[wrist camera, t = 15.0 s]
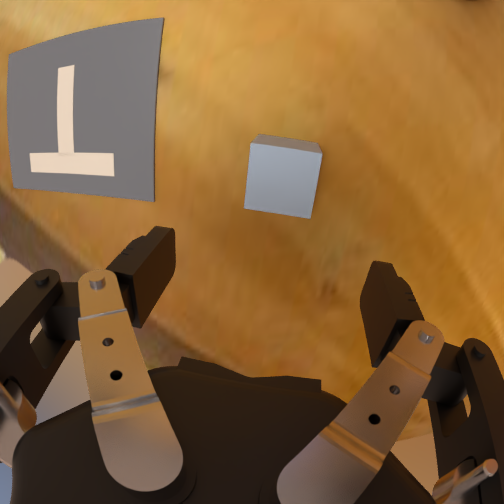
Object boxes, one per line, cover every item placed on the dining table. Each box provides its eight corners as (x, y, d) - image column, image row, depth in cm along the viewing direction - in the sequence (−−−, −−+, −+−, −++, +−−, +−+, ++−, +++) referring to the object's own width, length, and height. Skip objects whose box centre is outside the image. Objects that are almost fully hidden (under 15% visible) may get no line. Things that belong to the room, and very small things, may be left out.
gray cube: (259, 133, 25) (250, 142, 20) (317, 142, 24) (322, 153, 20) (252, 188, 27) (243, 208, 23) (308, 197, 27) (310, 218, 23)
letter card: (10, 54, 21) (8, 54, 21) (164, 17, 20) (163, 17, 20) (14, 187, 30) (13, 188, 30) (154, 201, 29) (153, 202, 29)
